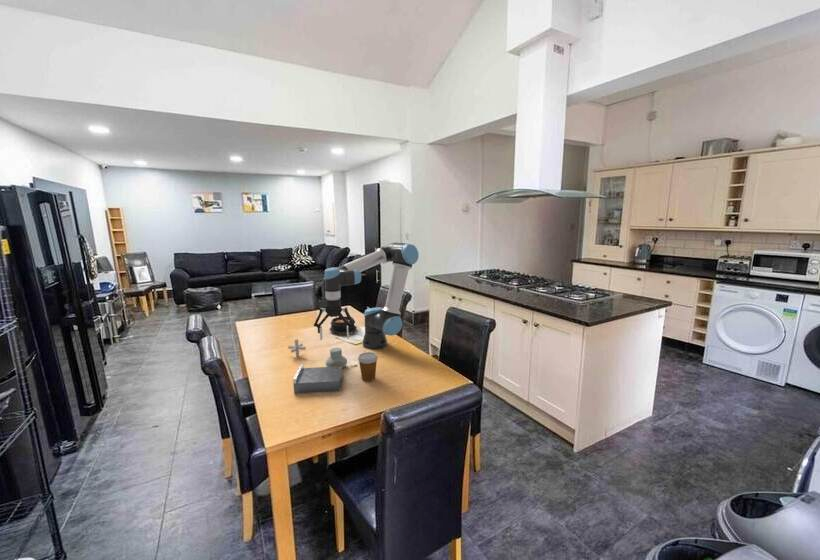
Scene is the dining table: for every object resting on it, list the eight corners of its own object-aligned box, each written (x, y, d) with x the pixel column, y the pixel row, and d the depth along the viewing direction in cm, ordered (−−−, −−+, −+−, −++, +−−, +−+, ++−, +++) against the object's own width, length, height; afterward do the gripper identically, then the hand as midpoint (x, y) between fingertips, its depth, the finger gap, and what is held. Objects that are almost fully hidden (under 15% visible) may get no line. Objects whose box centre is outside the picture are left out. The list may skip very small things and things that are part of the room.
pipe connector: (301, 360, 193) (300, 343, 191) (284, 358, 195) (283, 341, 193) (309, 353, 203) (308, 337, 201) (294, 352, 205) (292, 335, 203)
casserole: (325, 328, 248) (324, 316, 247) (350, 324, 257) (349, 313, 256) (335, 338, 227) (334, 326, 225) (362, 334, 235) (361, 322, 234)
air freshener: (326, 372, 178) (325, 353, 176) (325, 365, 186) (324, 347, 184) (347, 369, 181) (347, 351, 179) (346, 363, 189) (345, 345, 187)
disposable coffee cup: (370, 385, 164) (369, 361, 162) (354, 380, 169) (353, 357, 167) (382, 377, 172) (381, 354, 170) (367, 372, 177) (366, 350, 175)
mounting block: (342, 375, 174) (342, 362, 173) (339, 391, 158) (338, 377, 157) (301, 377, 172) (300, 364, 171) (294, 393, 156) (293, 379, 155)
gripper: (306, 301, 172) (308, 342, 175) (357, 299, 174) (358, 340, 178) (309, 297, 179) (311, 337, 183) (358, 296, 181) (359, 335, 185)
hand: (334, 338), depth 180 cm, fingers open, 13 cm apart
